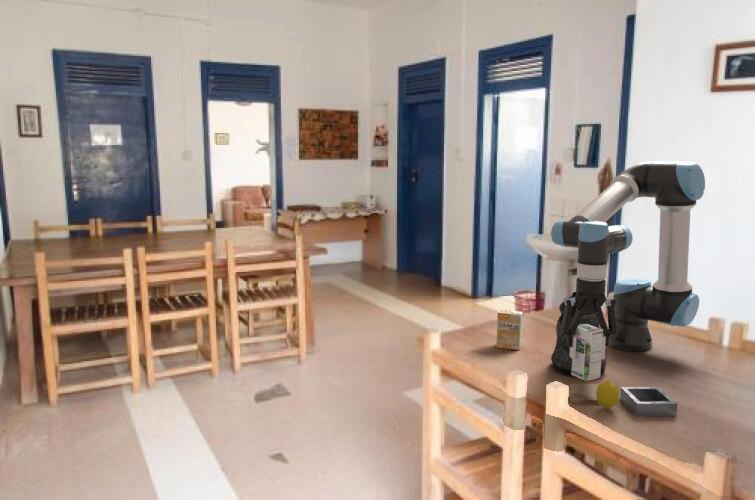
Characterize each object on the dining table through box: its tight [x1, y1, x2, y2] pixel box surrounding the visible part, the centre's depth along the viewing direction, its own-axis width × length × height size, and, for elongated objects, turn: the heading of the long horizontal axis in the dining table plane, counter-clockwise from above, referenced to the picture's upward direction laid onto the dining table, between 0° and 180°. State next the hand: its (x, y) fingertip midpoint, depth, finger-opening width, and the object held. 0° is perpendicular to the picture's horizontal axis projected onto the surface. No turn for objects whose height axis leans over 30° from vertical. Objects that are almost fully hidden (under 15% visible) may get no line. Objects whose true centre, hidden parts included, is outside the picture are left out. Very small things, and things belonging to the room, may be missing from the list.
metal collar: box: [619, 386, 678, 417], centre depth 153 cm, size 10×10×4 cm
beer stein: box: [550, 291, 607, 379], centre depth 177 cm, size 16×19×25 cm
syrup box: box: [571, 324, 603, 382], centre depth 159 cm, size 6×6×14 cm
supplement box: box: [495, 309, 524, 351], centre depth 200 cm, size 8×5×13 cm, turn 68°
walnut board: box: [565, 383, 600, 405], centre depth 162 cm, size 11×11×1 cm
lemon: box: [596, 380, 619, 410], centre depth 152 cm, size 6×6×8 cm
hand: (586, 357), depth 160 cm, fingers closed on syrup box, 7 cm apart
